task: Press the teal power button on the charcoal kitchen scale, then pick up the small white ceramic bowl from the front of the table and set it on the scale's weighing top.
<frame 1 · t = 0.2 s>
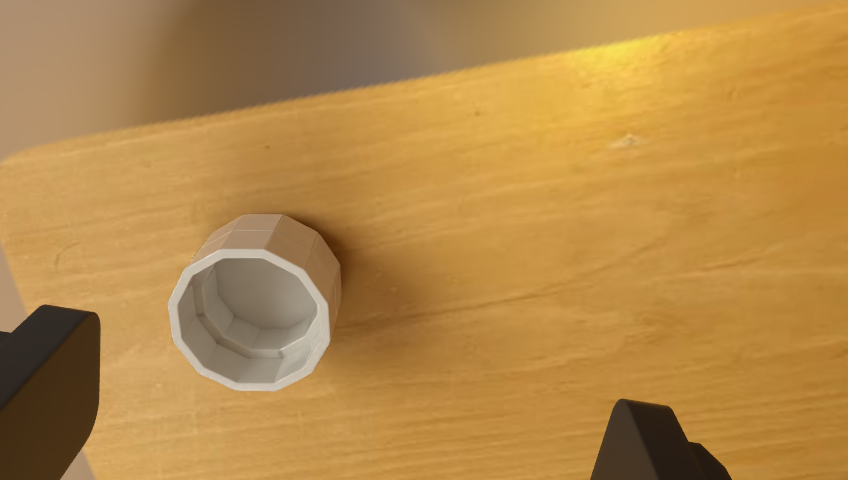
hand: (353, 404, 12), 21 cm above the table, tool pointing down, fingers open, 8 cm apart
bowl: (272, 276, 34), on the table
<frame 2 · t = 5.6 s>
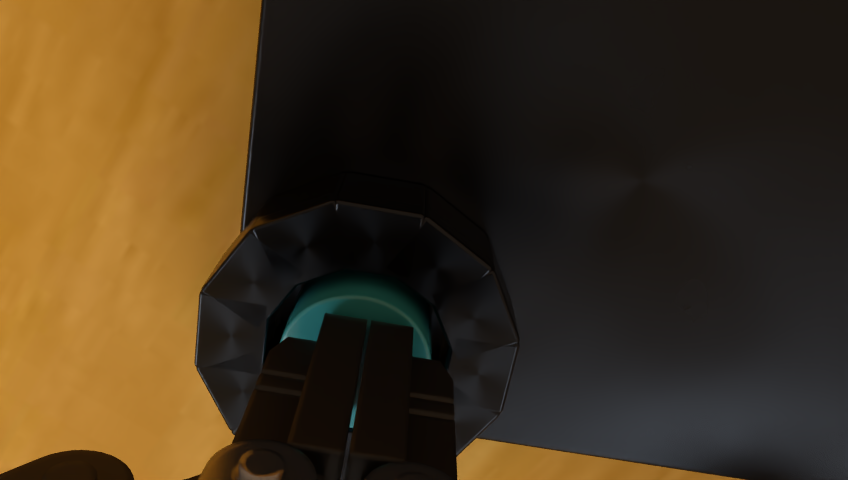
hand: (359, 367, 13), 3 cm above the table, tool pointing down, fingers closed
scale: (623, 159, 15), on the table
power button: (358, 342, 13), point 3 cm above the table, slide at -0.7 cm, touching gripper
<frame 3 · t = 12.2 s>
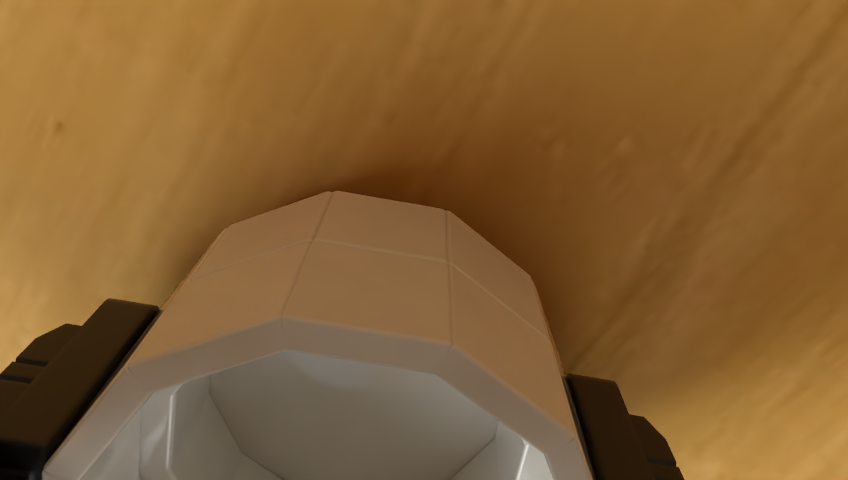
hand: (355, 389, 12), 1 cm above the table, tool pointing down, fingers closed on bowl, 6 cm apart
bowl: (361, 365, 13), on the table, touching gripper
when the fingers open (2 cm above the table, at t = 21.3 s): bowl stays where it is, resting on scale.
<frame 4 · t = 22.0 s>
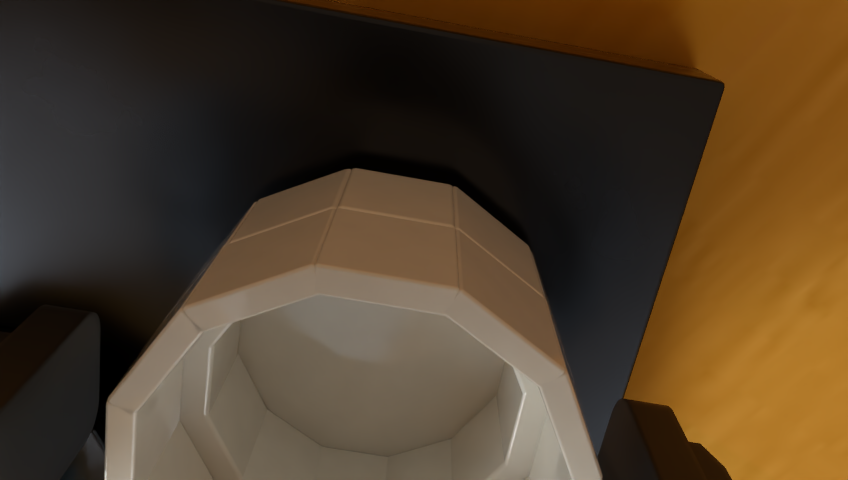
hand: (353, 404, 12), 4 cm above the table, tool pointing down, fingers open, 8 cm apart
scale: (278, 300, 15), on the table
bowl: (375, 329, 14), point 1 cm above the table, touching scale
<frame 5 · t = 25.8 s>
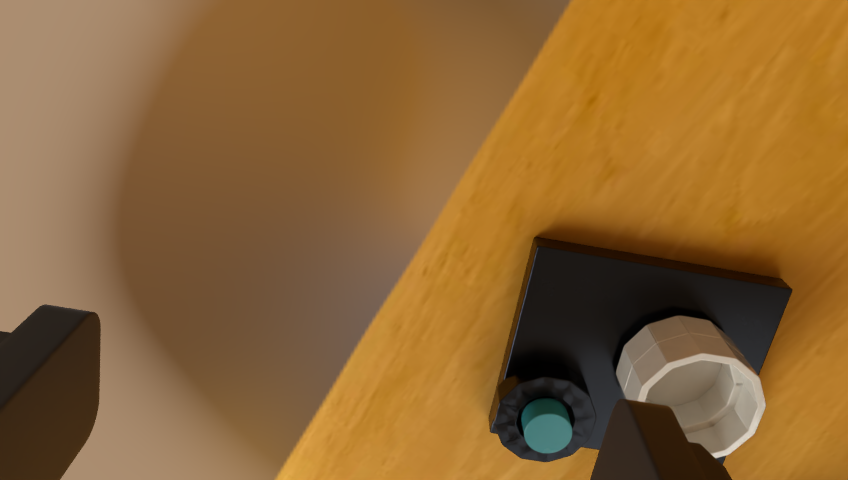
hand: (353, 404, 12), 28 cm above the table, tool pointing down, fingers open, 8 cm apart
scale: (629, 351, 43), on the table
power button: (546, 425, 41), point 3 cm above the table, slide at 0.1 cm
bowl: (673, 363, 42), point 1 cm above the table, touching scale
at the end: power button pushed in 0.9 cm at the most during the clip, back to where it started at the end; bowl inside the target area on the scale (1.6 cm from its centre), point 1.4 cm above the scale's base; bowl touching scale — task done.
